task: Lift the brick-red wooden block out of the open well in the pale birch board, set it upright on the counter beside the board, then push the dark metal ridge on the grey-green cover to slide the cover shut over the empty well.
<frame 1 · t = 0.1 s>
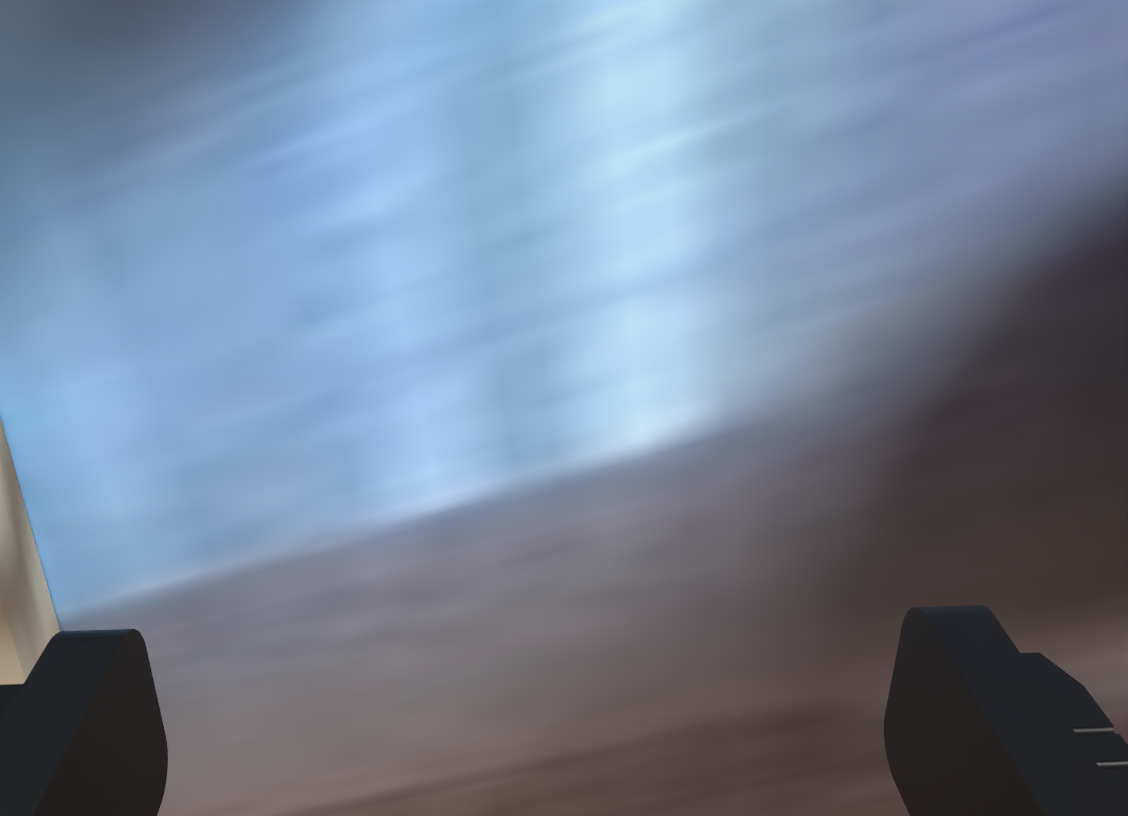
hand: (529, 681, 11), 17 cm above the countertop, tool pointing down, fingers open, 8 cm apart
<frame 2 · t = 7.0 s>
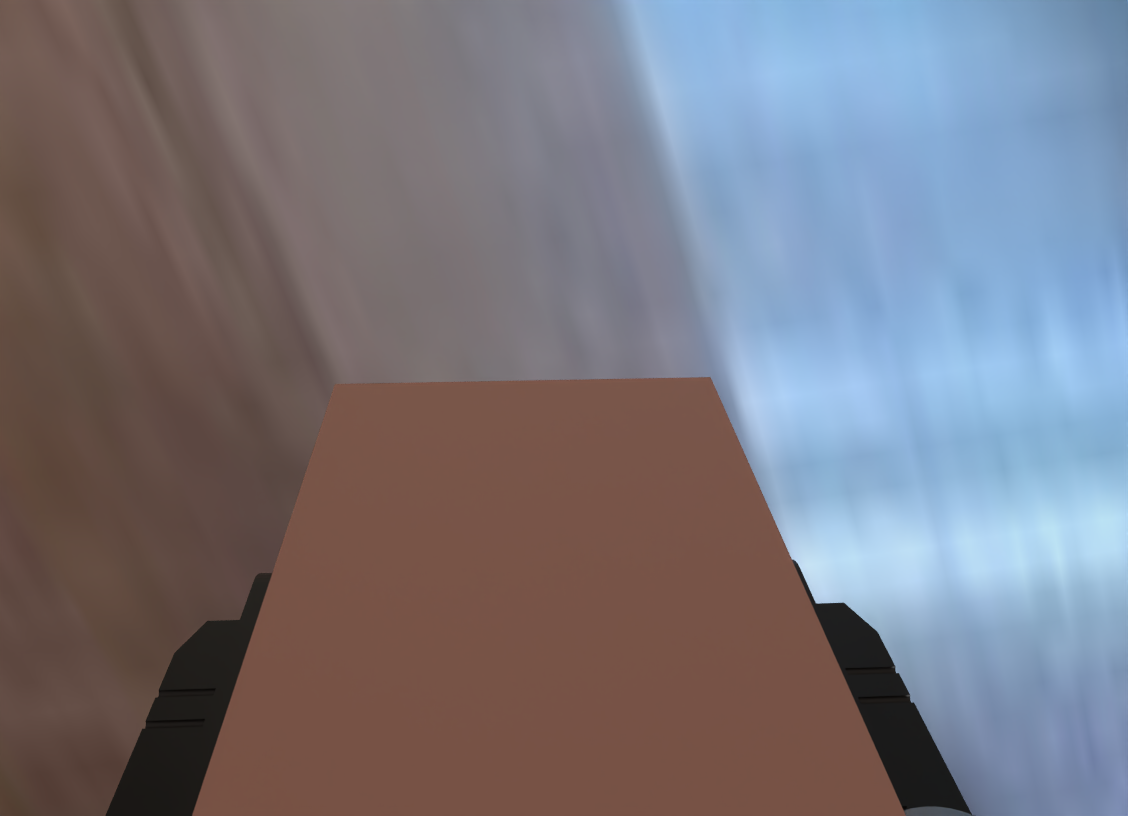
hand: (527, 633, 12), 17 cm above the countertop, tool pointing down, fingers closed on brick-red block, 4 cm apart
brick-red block: (526, 538, 13), point 15 cm above the countertop, touching gripper
when the fingers open (3 cm above the countertop, at t = 10.3 s): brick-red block drops 1 cm, on the countertop.
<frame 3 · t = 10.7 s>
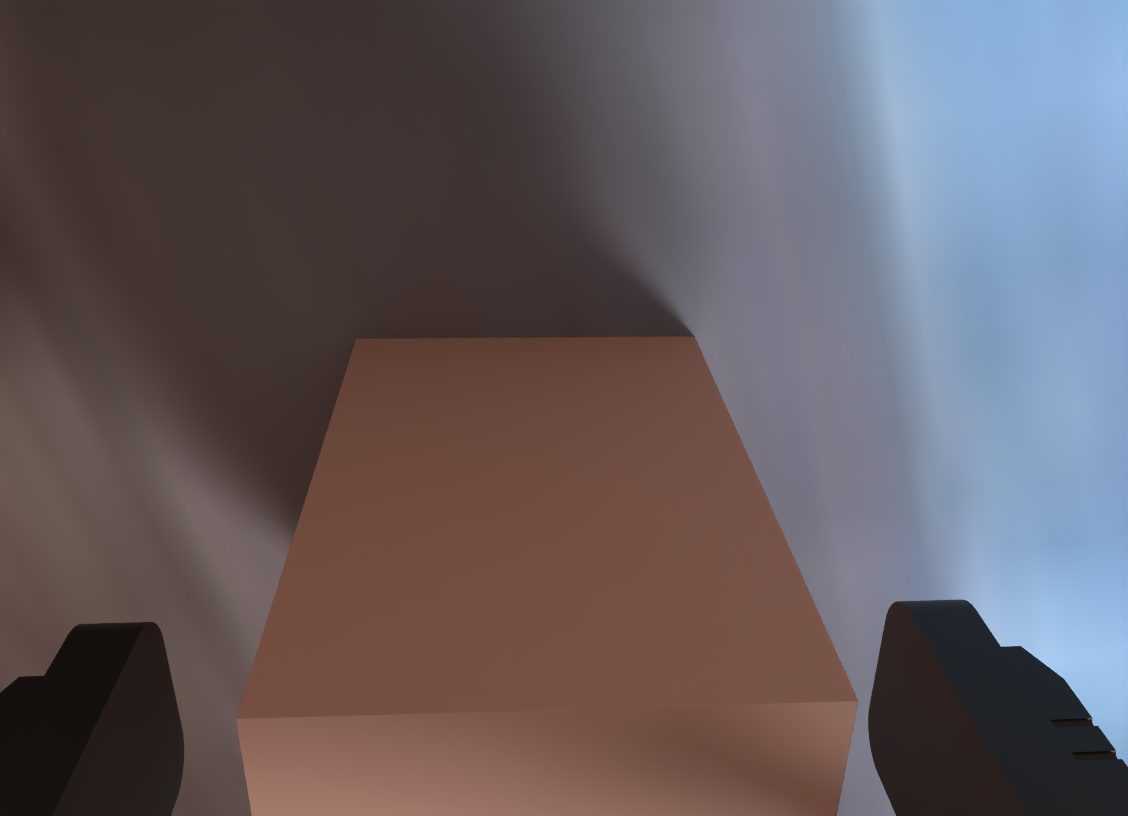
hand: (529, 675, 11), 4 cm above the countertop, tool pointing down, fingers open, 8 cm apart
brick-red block: (526, 482, 15), on the countertop
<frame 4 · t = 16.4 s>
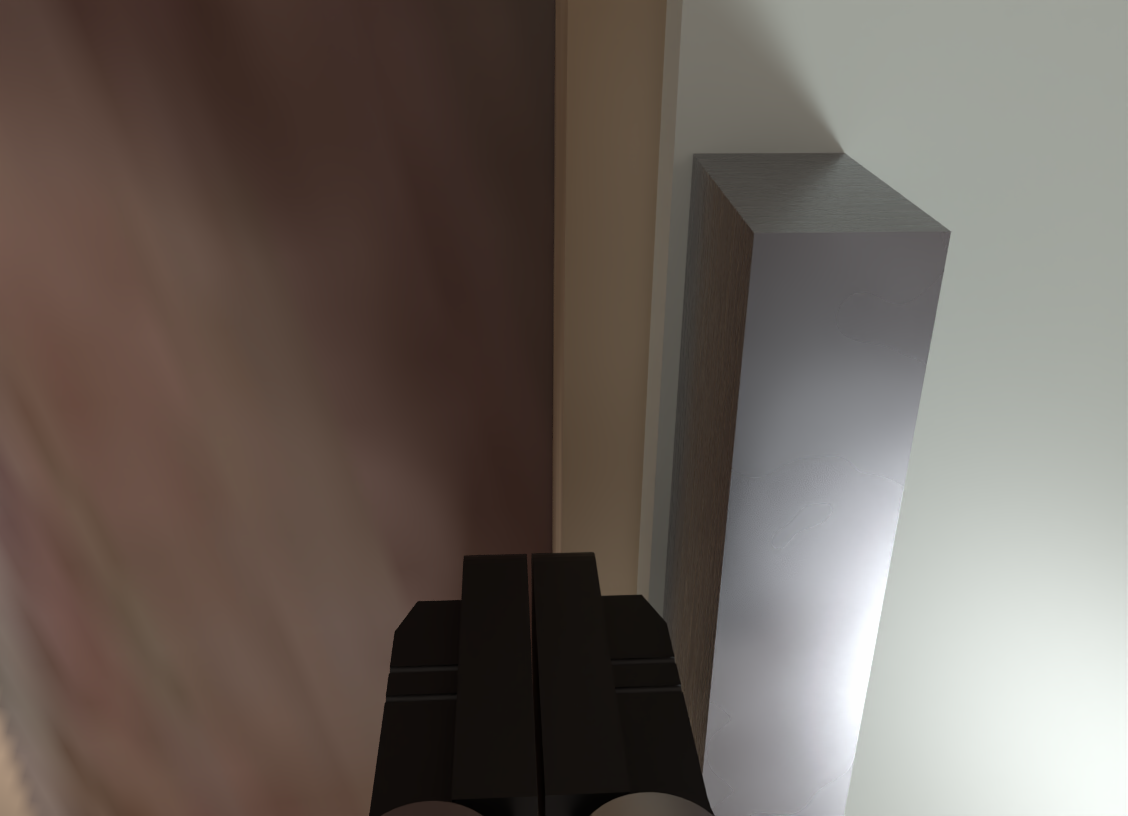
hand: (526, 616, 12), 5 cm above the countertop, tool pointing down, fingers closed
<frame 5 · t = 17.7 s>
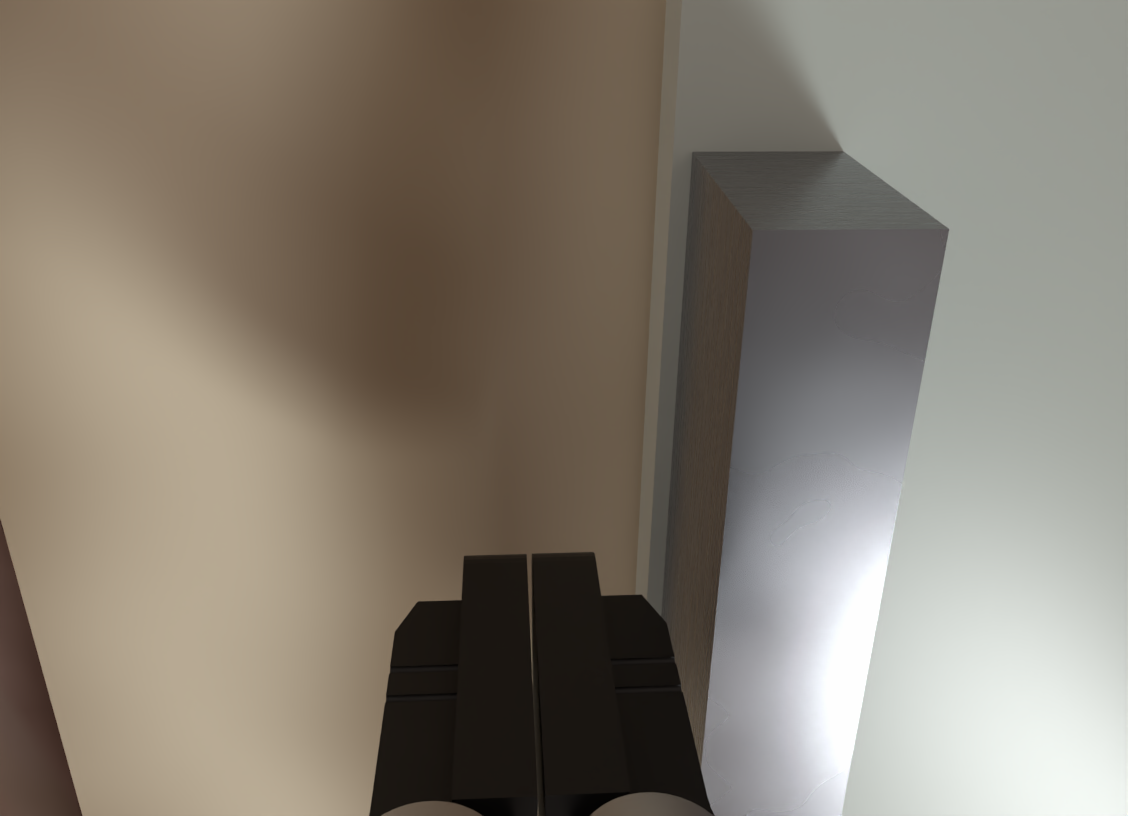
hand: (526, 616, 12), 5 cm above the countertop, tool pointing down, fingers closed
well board: (927, 410, 17), on the countertop
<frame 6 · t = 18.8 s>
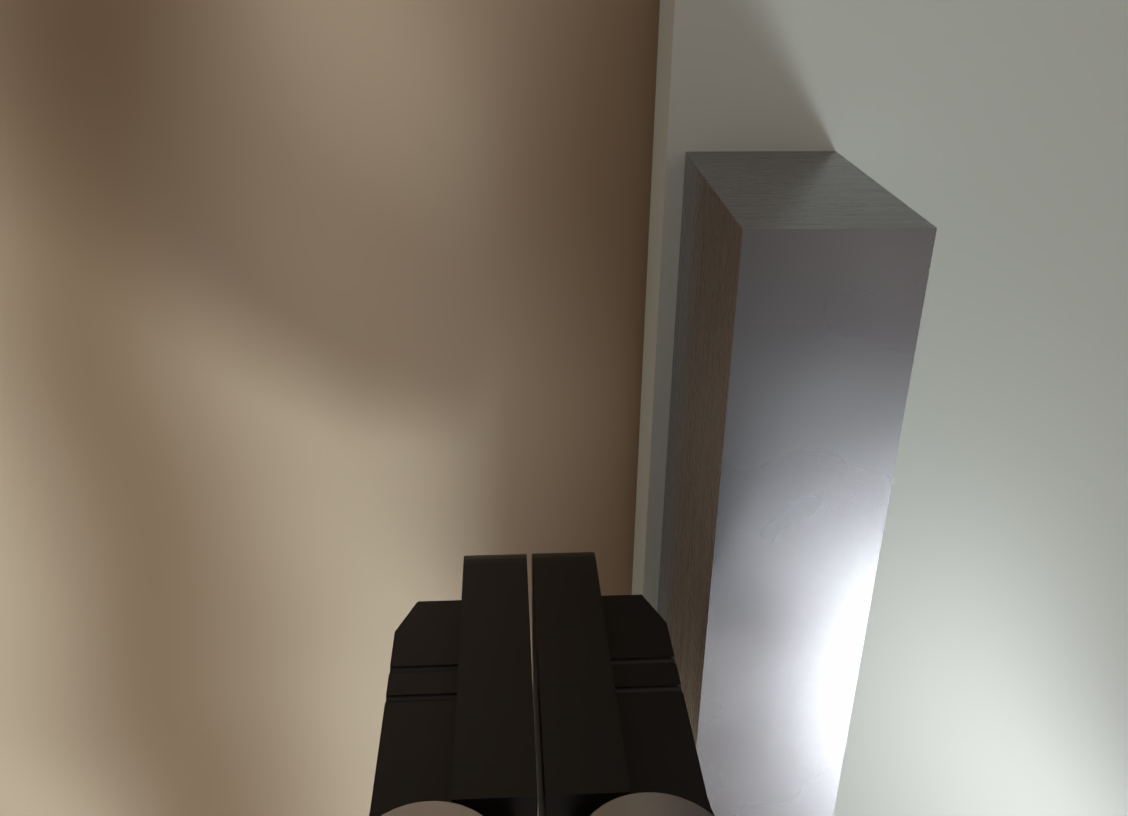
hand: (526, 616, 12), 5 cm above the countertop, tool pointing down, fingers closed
cover: (1123, 579, 13), point 5 cm above the countertop, slide at 11.8 cm
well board: (687, 412, 16), on the countertop
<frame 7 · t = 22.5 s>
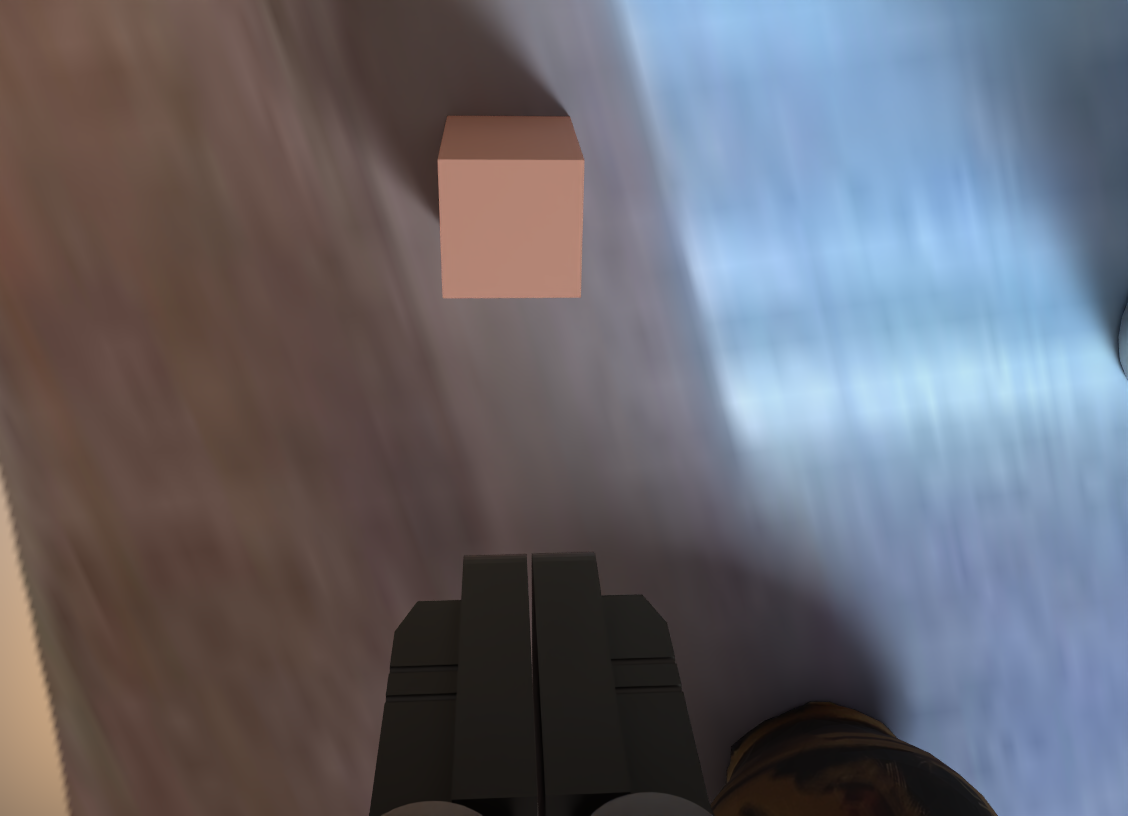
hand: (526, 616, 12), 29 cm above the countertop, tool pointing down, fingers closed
ceramic jug: (821, 777, 54), on the countertop
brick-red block: (509, 176, 39), on the countertop
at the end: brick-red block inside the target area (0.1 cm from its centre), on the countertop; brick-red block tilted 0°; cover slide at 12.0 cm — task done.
